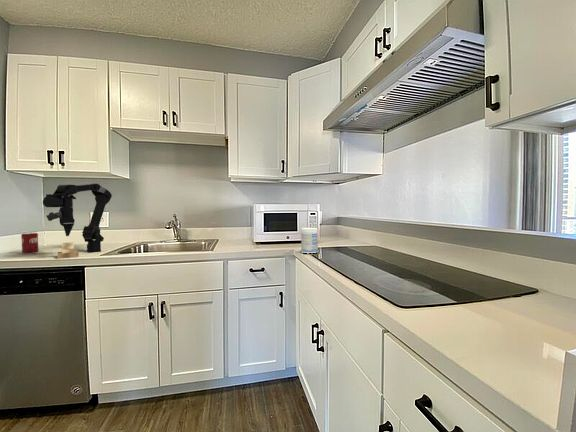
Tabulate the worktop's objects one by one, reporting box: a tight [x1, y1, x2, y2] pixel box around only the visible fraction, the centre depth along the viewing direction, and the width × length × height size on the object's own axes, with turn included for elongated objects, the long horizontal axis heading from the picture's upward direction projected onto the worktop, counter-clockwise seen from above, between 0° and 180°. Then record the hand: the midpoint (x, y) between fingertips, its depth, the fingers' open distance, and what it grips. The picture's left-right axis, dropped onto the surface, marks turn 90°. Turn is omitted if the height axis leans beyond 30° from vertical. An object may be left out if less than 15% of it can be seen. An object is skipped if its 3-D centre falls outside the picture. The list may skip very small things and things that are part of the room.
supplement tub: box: [300, 227, 319, 254], centre depth 162 cm, size 10×10×15 cm
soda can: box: [20, 232, 40, 255], centre depth 166 cm, size 7×7×12 cm
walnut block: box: [57, 250, 80, 260], centre depth 154 cm, size 9×9×3 cm
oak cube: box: [61, 241, 75, 253], centre depth 154 cm, size 5×5×5 cm
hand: (67, 235), depth 154 cm, fingers open, 9 cm apart
